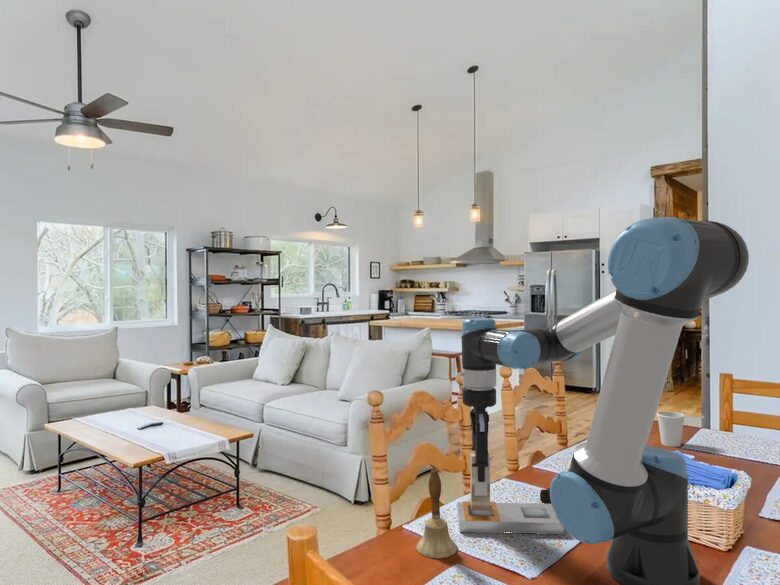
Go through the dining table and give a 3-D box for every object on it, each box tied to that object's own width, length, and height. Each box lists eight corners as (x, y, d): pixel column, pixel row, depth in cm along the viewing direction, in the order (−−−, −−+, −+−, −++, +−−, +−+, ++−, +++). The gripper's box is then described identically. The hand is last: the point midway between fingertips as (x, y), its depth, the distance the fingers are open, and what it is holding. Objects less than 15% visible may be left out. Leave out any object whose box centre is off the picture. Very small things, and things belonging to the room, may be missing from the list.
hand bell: (424, 561, 101) (423, 479, 101) (411, 541, 109) (410, 465, 109) (463, 555, 104) (462, 475, 103) (448, 536, 112) (447, 461, 111)
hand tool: (553, 509, 125) (553, 489, 125) (539, 503, 128) (539, 484, 128) (596, 489, 137) (596, 471, 137) (582, 484, 140) (582, 467, 140)
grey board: (563, 534, 111) (563, 522, 111) (459, 532, 113) (459, 520, 113) (552, 514, 121) (552, 502, 121) (457, 512, 123) (457, 501, 123)
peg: (490, 510, 116) (489, 456, 116) (471, 510, 116) (471, 456, 116) (488, 503, 120) (487, 450, 119) (470, 502, 120) (470, 450, 120)
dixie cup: (651, 442, 175) (650, 412, 175) (668, 439, 179) (667, 410, 179) (673, 449, 168) (673, 418, 168) (691, 445, 171) (691, 415, 171)
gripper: (460, 380, 126) (461, 476, 127) (464, 395, 109) (465, 506, 110) (491, 380, 126) (492, 477, 126) (501, 395, 109) (502, 507, 109)
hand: (479, 490), depth 118 cm, fingers closed on peg, 4 cm apart
